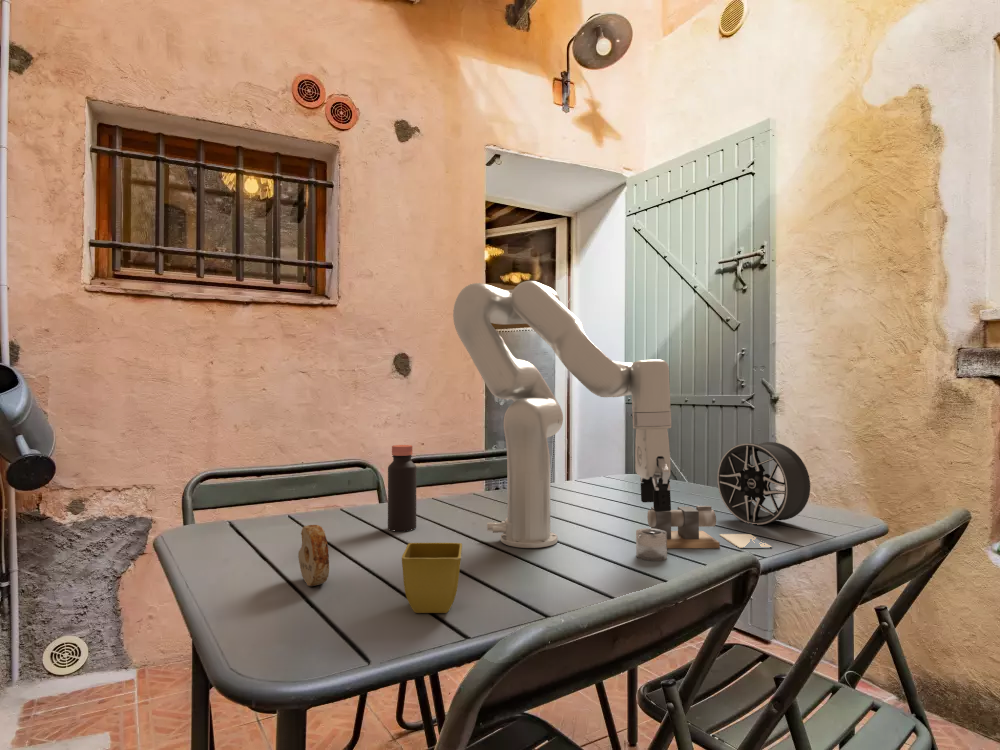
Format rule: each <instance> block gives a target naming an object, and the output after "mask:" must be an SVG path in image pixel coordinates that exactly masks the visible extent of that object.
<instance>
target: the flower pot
mask: <svg viewBox="0 0 1000 750" xmlns="http://www.w3.org/2000/svg"><path fill="white" fill-rule="evenodd" d="M462 551H463V543H461V542H409V543H407V545H406V547H405V550H404V552H403V553H402V556H401V567H402V577H403V578H402V579H403V587H404V588H403V589H404V592H405V593H404V594H405V597H406V599H407V601H408V602H407V603H408V604H409V606H410V608H411V609H412V611H413V612H414V613H416V614H447V613H448V612H450V610H451V607H452V606H453V603H454V601H455V598H456V595H457V592H458V587H459V586H458V585H459V579H460V569H461V561H462Z"/></svg>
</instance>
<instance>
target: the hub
mask: <svg viewBox="0 0 1000 750" xmlns="http://www.w3.org/2000/svg"><path fill="white" fill-rule="evenodd" d="M635 533H636V534H635V535H636V536H635V537H636V538H635V545H636V546H635V549H636V551H635V554H636V555H635V557H636V558H637V557H638V558H637V559H639V560H642V561H643V560H644V561H646V562H647V561H648V562H662V561H665V560H667V559H668V548H667V532H666V531H663V530H660V529H652V528H651V527H649V528H639V529H636V530H635Z"/></svg>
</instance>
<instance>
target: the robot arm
mask: <svg viewBox="0 0 1000 750" xmlns="http://www.w3.org/2000/svg"><path fill="white" fill-rule="evenodd" d="M454 301H455V302H454V305H453V314H452V317H453V319H452V320H453V324H454V329H455V330H456V334H457V335H458V338H459V339H460V342H461V343H462V344H463V346H464V348H465V349H466V351H467V353H468V354H469V357H470V358H471V360H472V362H473V364H474V366H475V367H476V369H477V371H478V373H479V375H480V376H481V379H482V380H483V381H484V384H485V386H486V387H487V389H488V390H489V392H490V393H491V394H492V395H493V396H494V397H495V398H497V399H499V400H512V401H513V402H512V403H511V404H510V405H509V406H508V407H507V409H506V411H505V413H504V417H503V432H504V438H505V439H504V440H505V444H506V446H505V447H506V459H507V460H506V461H507V462H506V465H507V467H506V468H507V470H506V471H507V479H506V480H507V481H506V482H507V485H506V486H507V490H506V491H507V495H506V496H507V499H506V500H507V517H505V520H502V521H501V522H494V521H493V522H488V521H487V523H486V524H487V525H486V526H487V527H486V528H487V532H492V533H493V534H497V533H501V535H500V542H501V543H502V544H504V545H507V546H509V547H514V548H522V549H538V548H546V547H550V546H553V545H555V544H557V542H558V539H559V538H558V534H556V533H554V532H553V531H551V455H550V448H549V443H548V438H551V437H552V436H555V435H556V434H557V433H558V432H559V431H560V430H561V428H562V426H563V424H564V423H563V422H564V415H563V410H562V408H561V405H560V404H559V402H558V400H557V398H556V397H555V395H554V393H553V391H552V389H551V388H550V387H549V385H548V383H547V382H546V379H544V376H543V375H542V374H541V372H540V371H539V370H538V369H537V368H538V367H536V366H535V365H534V364H532V363H531V362H529V361H527V360H524V359H519V358H516V357H515V356H514V354H513V353H512V352H511V351H510V349H509V347H508V346H507V344H506V342H505V340H504V339H503V337H502V335H500V333H499V332H498V331H497V329H495V327H494V326H493V325H492V324H495V325H520V324H522V325H524V324H526V325H528V327H530V328H531V329H532V330H533V331H534V332H536V333H535V334H537V335H538V336H539V337H540V338H541V339H542V340H543V341H544V342H545V343H546V344H547V345H548V346H550V348H551V349H552V350H553V352H554V353H555V355H556V356H557V357H558V359H559V360H560V362H561V363H562V365H563V366H564V367H565V368H566V369H567V370H568V372H570V374H572V376H574V377H575V379H577V380H578V381H579V382H580V383H581V384H582V385H583V386H584V387H585V388H586V389H587V390H588V391H590V392H591V393H592V394H593V395H596V396H598V397H600V398H619V397H620V398H621V397H625V396H626V397H627V396H631V407H632V408H631V409H632V428H633V430H635V448H634V449H635V452H634V453H635V457H634V458H635V459H634V460H635V461H634V462H635V474H637V475H638V476H639V477H640V478H639V479H640V501H641V502H642V503H653V507H654V511H656V512H662V511H671V510H672V500H671V499H672V498H671V485H670V482H671V481H670V477H671V469H672V468H671V464H672V463H671V452H670V451H671V450H670V438H669V433H668V429H671V428H672V410H671V409H672V407H671V391H670V390H671V386H670V369H669V367H670V366H669V364H668V362H667V361H666V360H664V359H663V360H662V359H644V360H643V359H640V360H636V361H634V362H624V361H617V360H611V359H610V357H608V356H607V355H606V354H605V353H604V352H603V351H602V350H600V348H598V346H596V345H595V344H594V343H593V342H592V340H591V339H590V338H589V336H587V335H586V332H585V331H584V328H583V327H584V326H583V323H582V321H581V320H580V319H579V317H578V316H576V315H575V314H574V313H573V312H572V311H571V310H570V309H569V308H567V307H566V305H564V304H563V303H562V302H561V299H560V296H559V294H558V293H557V291H555V290H554V289H553V288H552V287H550V286H548V285H546V284H543V283H541V282H538V281H535V280H526V281H522V282H520V283H519V284H517V285H516V286H515V287H514V288H513V289H502V288H500V287H498V286H497V287H496V286H493V285H490V284H488V283H483V282H482V283H480V282H476V283H475V282H474V283H470V284H468V285H466V286H464V287H463V288H462V289H461V290H460V292H459V293H458V295H457V297H456V299H455V300H454Z"/></svg>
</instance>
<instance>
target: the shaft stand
mask: <svg viewBox="0 0 1000 750" xmlns="http://www.w3.org/2000/svg"><path fill="white" fill-rule="evenodd" d="M695 507H696V508H694V507H692V506H677V509H671V511H662V512H656V511H654V506H650V509H648V511H647V523H648V526H649V528H652V529H660V530H663V531H666V532H667V549H720V547H721V545H720V543H721V542H720V541H718V540H717V539H715V538H714V537H712V536H711V535H710V534H708V533H707V532H705V531H704V530H700V527H706V528H709V527H713V528H714V527H715V526H716V525H717V515H716V513H715V510H713V509H712V506H711V505H696V506H695ZM672 527H673V528H675V527H676V528H677V530H672Z"/></svg>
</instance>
